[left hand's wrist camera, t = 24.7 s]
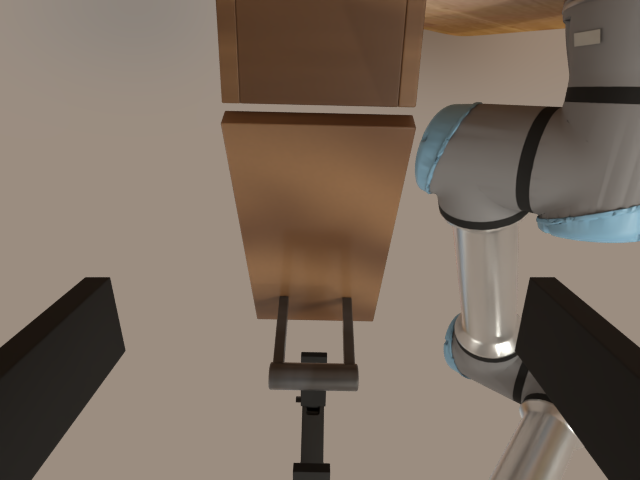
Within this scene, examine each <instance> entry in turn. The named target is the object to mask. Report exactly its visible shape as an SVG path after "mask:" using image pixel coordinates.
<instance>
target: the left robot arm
mask: <svg viewBox="0 0 640 480" xmlns="http://www.w3.org/2000/svg"><path fill="white" fill-rule="evenodd" d="M124 352H125V346H124V341H123V337H122V332H121V327H120V323H119V318H118V313H117V308H116V304H115V299H114V294H113V289H112V285H111V280H110V277H86V278H84V279H83V280H82V281H80V282H79V283H78V284H77V285H76V286H74V287H73V288H72V289H71V290H70V291H68V292H67V293H66V294H65V295H63V296H62V297H61V298H60V299H59V300H57V301H56V302H55V303H54V304H53V305H51V306H50V307H49V308H48V309H47V310H45V311H44V312H43V313H42V314H40V315H39V316H38V317H37V318H36V319H34V320H33V321H32V322H31V323H30V324H28V325H27V326H26V327H25V328H24V329H22V330H21V331H20V332H19V333H17V334H16V335H15V336H14V337H13V338H11V339H10V340H9V341H8V342H7V343H5V344H4V345H3V346H2V347H0V480H32V478H33V477H34V476H35V474H36V473H37V472H38V470H39V469H40V467H41V466H42V465H43V463H44V462H45V461H46V459H47V458H48V456H49V455H50V454H51V452H52V451H53V450H54V448H55V447H56V445H57V444H58V443H59V441H60V440H61V439H62V437H63V436H64V434H65V433H66V432H67V430H68V429H69V428H70V426H71V425H72V423H73V422H74V421H75V419H76V418H77V417H78V415H79V414H80V413H81V411H82V410H83V408H84V407H85V406H86V404H87V403H88V402H89V400H90V399H91V397H92V396H93V395H94V393H95V392H96V391H97V389H98V388H99V386H100V385H101V384H102V382H103V381H104V380H105V378H106V377H107V375H108V374H109V373H110V371H111V370H112V369H113V367H114V366H115V364H116V363H117V362H118V360H119V359H120V358H121V356H122V355H123V353H124ZM515 352H516V353H517V355H518V356H519V358H520V359H521V360H522V362H523V363H524V364H525V366H526V367H527V369H528V370H529V371H530V373H531V374H532V375H533V377H534V378H535V380H536V381H537V382H538V384H539V385H540V386H541V388H542V389H543V391H544V392H545V393H546V395H547V396H548V397H549V399H550V400H551V402H552V403H553V404H554V406H555V407H556V408H557V410H558V411H559V413H560V414H561V415H562V417H563V418H564V419H565V421H566V422H567V423H568V425H569V426H570V428H571V429H572V430H573V432H574V433H575V434H576V436H577V437H578V439H579V440H580V441H581V443H582V444H583V445H584V447H585V448H586V450H587V451H588V452H589V454H590V455H591V456H592V458H593V459H594V461H595V462H596V463H597V465H598V466H599V467H600V469H601V470H602V471H603V473H604V474H605V476H606V477H607V478H608V480H640V347H638V346H637V345H636V344H635V343H633V342H632V341H631V340H630V339H629V338H627V337H626V336H625V335H624V334H623V333H621V332H620V331H619V330H618V329H616V328H615V327H614V326H613V325H612V324H610V323H609V322H608V321H607V320H606V319H604V318H603V317H602V316H601V315H599V314H598V313H597V312H596V311H595V310H593V309H592V308H591V307H590V306H589V305H587V304H586V303H585V302H584V301H582V300H581V299H580V298H579V297H578V296H577V295H575V294H574V293H573V292H572V291H570V290H569V289H568V288H567V287H566V286H564V285H563V284H562V283H561V282H560V281H558V280H557V279H556V278H555V277H530V280H529V285H528V289H527V294H526V299H525V304H524V309H523V313H522V318H521V322H520V327H519V332H518V337H517V341H516V346H515Z"/></svg>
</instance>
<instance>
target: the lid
mask: <svg viewBox="0 0 640 480" xmlns="http://www.w3.org/2000/svg"><path fill="white" fill-rule="evenodd" d="M221 127H222V132H223V137H224V143H225V148H226V153H227V159H228V164H229V169H230V175H231V180H232V185H233V191H234V196H235V201H236V207H237V212H238V218H239V223H240V228H241V233H242V239H243V244H244V249H245V255H246V261H247V266H248V271H249V277H250V282H251V287H252V293H253V298H254V303H255V309H256V314H257V318H258V319H277V327H276V338H275V348H274V358H273V362H271V364H270V368H269V389H271V390H319V391H357V390H358V379H359V378H358V366H357V364H355V357H354V336H353V321H373V319H374V314H375V310H376V305H377V301H378V296H379V292H380V287H381V283H382V278H383V274H384V269H385V265H386V260H387V256H388V251H389V247H390V242H391V238H392V233H393V229H394V224H395V220H396V215H397V211H398V206H399V202H400V197H401V193H402V188H403V184H404V179H405V175H406V170H407V166H408V161H409V157H410V153H411V148H412V143H413V139H414V135H415V130H416V127H415V123H414V119H413V116H412V115H380V114H336V113H292V112H249V111H225V113H224V116H223V119H222V122H221ZM287 320H333V321H343V351H344V364H337V363H287V362H284V359H285V346H286V333H287Z"/></svg>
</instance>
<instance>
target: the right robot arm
mask: <svg viewBox="0 0 640 480" xmlns="http://www.w3.org/2000/svg"><path fill="white" fill-rule="evenodd" d="M562 14H563V22H564V23H565V25H566V48H567V57H568V66H569V83H568V88H567V92H566V97H565V102H564V104H563V107H545V106H522V105H499V104H482V103H481V102H476V103H474V104H453V105H450V106H447V107H445V108H443V109H442V110H441V111H439V112H438V113H437V114H436V115H435V116H434V118H433V119H432V120H431V122H430V123H429V125H428V126H427V128H426V130H425V132H424V134H423V137H422V140H421V142H420V145H419V148H418V152H417V156H416V163H415V177H416V182H417V184H418V186H419V188H420V189H422V190H424V191H426V192H427V193H428V194H431V193H434V194H436V195H437V196H438V204H439V210H440V214H441V216H442V217H443V219H444V220H445V221H446V222H447V223H449V224H450V225H452V226H453V235H454V245H455V254H456V264H457V273H458V283H459V292H460V302H461V311H462V312H461V313H460V314H458V315H457V316H456V317H455V318H454V319H453V320H452V322H451V324H450V325H449V328H448V330H447V333H446V336H445V339H446V342H445V343H444V356H445V360H446V362H447V364H448V365H449V366H450V368H452V369H453V370H455V371H456V372H458V373H460V374H461V375H462V376H464V377H465V378H468V379H472V380H474V381H476V382H478V383H480V384H482V385H484V386H486V387H488V388H490V389H492V390H494V391H496V392H498V393H500V394H502V395H504V396H506V397H507V398H509V399H512V400H513V401H516V402H517V403H520V404H521V405H520V409H519V411H520V416H521V418H522V419H521V421H520V423H519V425H518V427H517V429H516V430H515V432H514V434H513V436H512V438H511V440H510V442H509V443H508V445H507V447H506V449H505V451H504V453H503V455H502V457H501V458H500V460H499V462H498V464H497V466H496V468H495V469H494V471H493V473H492V475H491V477H490V479H489V480H562V478H563V476H564V474H565V471H566V469H567V467H568V464H569V462H570V459H571V457H572V455H573V452H574V450H579V449H582V448H584V445H583V444H582V443H581V441H580V440H579V439H578V437H577V436H576V434H575V433H574V432H573V430H572V429H571V428H570V426H569V425H568V423H567V422H566V421H565V419H564V418H563V417H562V415H561V414H560V413H559V411H558V410H557V408H556V407H555V406H554V404H553V403H552V402H551V400H550V399H549V397H548V396H547V395H546V393H545V392H544V391H543V389H542V388H541V386H540V385H539V384H538V382H537V381H536V380H535V378H534V377H533V375H532V374H531V373H530V371H529V370H528V369H527V367H526V366H525V364H524V363H523V362H522V360H521V359H520V358H519V356H518V355H517V353H516V352H515V346H516V341H517V337H518V332H519V327H520V322H521V318H520V317H519V315H518V314H517V283H518V243H519V222H520V221H522V220H523V219H524V218H526V216H527V215H528V214H529V213H530V212H531V213H535V214H538V215H539V216H537V219H536V221H537V222H538V227H539V229H540V230H542V231H543V232H545V233H550V234H551V235H553V236H556V237H561V238H566V239H572V240H579V241H588V242H604V243H623V242H636V241H640V0H565V1H564V6H563V11H562ZM301 363H327V353H321V352H302V353H301ZM296 402H301V406H302V439H301V462H300V463H294V465H293V480H330V464H327V463H323V434H324V406H325V402H326V391H319V390H301V396H297V397H296Z"/></svg>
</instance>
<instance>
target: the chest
mask: <svg viewBox="0 0 640 480" xmlns="http://www.w3.org/2000/svg"><path fill="white" fill-rule="evenodd" d="M425 8H426V0H216V10H217V27H218V44H219V61H220V77H221V94H222V103H250V104H293V105H337V106H380V107H415V106H416V99H417V89H418V78H419V69H420V59H421V48H422V38H423V28H424V18H425Z"/></svg>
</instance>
